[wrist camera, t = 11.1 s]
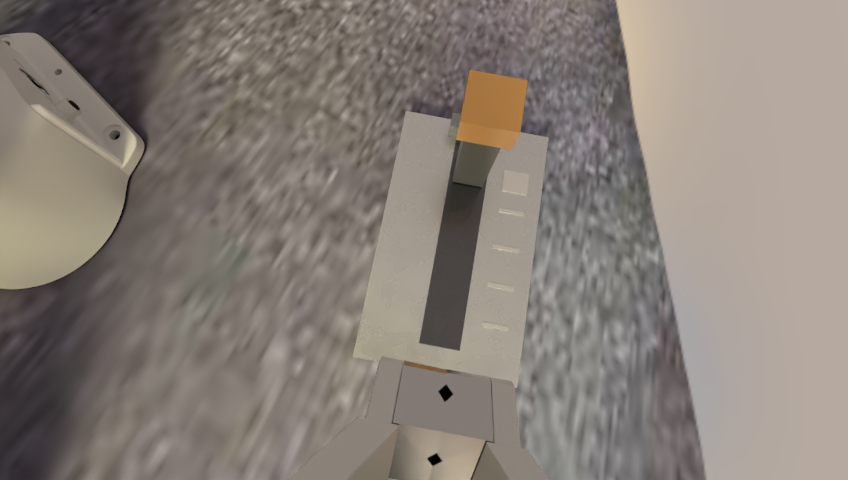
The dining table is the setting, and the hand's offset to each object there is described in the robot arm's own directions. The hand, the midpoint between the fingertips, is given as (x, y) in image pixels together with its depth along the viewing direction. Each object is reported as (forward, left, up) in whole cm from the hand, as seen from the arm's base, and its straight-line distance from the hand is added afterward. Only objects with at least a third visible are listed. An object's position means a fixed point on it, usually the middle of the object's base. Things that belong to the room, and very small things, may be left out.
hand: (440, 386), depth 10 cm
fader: (-10, +12, -22) cm, 26 cm away
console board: (-6, +8, -24) cm, 26 cm away
